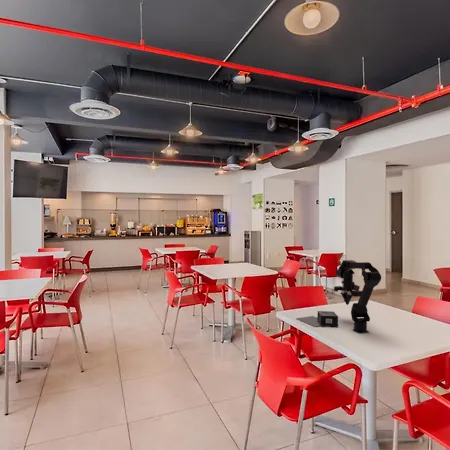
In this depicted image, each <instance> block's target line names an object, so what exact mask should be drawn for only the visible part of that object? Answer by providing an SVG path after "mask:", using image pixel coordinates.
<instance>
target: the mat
mask: <svg viewBox="0 0 450 450" xmlns="http://www.w3.org/2000/svg"><path fill="white" fill-rule="evenodd" d="M295 320H297V321H299V320H300V322H302V323H304V324H306V323H307V325H309V326H311V327H314V328H320V327H323V326H322V325H320V323H319V322H318V320H317V316H314V315H310V316H303V317H297V318H296V319H295Z"/></svg>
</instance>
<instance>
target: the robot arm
mask: <svg viewBox="0 0 450 450" xmlns="http://www.w3.org/2000/svg"><path fill="white" fill-rule="evenodd" d="M355 269H359V270H361V276H362V277H363V282H364V284H363V288H362V290H360V285H357V284H355V281H354V280H353V279H354V275H355V272H354V270H355ZM366 270H368V271H366ZM335 276H336V277H337V278H340V279H342V281H341V283H342V286H341V285H337V286H336V285H335V286H334V287H333V291H334V292H338V291H340V295H341V297H342V298H343V300H344V302H345V305H346V306H348V305H349V304H350V301H351V300H352V298H353V297H359V298H358V301H357V302H354V303H352V306H351V310H350V315H351V316H350V317H351V320H352V322H353V328H352V331H354V332H357V333H359V334H365V333H369V330H367V329H368V322H370V320H371V317H370V315H369V312H368V308H367V306H368V303H369V300H370V298H371V295H372V293H373V290H374V288H375V287H376V286H378V285H379V284H380V282H381V280H382V275H381V273H380V271H379V270H378V269H377V268H376V267H374V266H373V265H372V263H370V262H369V261H366V262H364V261H363V262H359V261H356V260H352V259H346V260H342V261H341V264H340V266H339V267H338V269H337V270H336V271H335Z"/></svg>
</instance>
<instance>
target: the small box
mask: <svg viewBox="0 0 450 450" xmlns="http://www.w3.org/2000/svg"><path fill="white" fill-rule="evenodd" d="M316 317H317V320H318V322H319V323H320V325H322V326H321V327H325V326H326V327H338V326H339V315H337V313H335V311H332V310H331V311H327V310H326V311H325V310H318V311H317V316H316Z"/></svg>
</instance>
